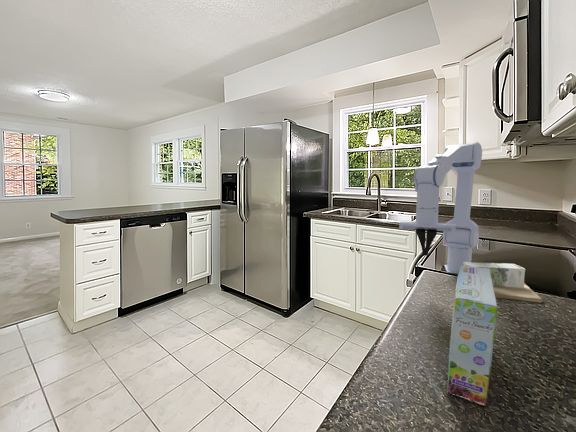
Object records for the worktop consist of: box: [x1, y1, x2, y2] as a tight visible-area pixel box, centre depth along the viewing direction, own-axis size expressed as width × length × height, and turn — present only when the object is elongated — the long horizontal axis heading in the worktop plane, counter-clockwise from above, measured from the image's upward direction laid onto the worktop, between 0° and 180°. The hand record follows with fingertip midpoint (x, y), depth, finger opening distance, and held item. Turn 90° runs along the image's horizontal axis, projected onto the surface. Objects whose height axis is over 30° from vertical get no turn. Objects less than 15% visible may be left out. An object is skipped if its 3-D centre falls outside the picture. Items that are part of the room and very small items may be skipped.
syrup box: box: [463, 261, 526, 288], centre depth 87 cm, size 6×6×14 cm
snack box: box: [446, 265, 498, 404], centre depth 50 cm, size 21×6×15 cm, turn 148°
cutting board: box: [493, 282, 543, 303], centre depth 85 cm, size 14×14×1 cm
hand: (425, 254), depth 85 cm, fingers closed
